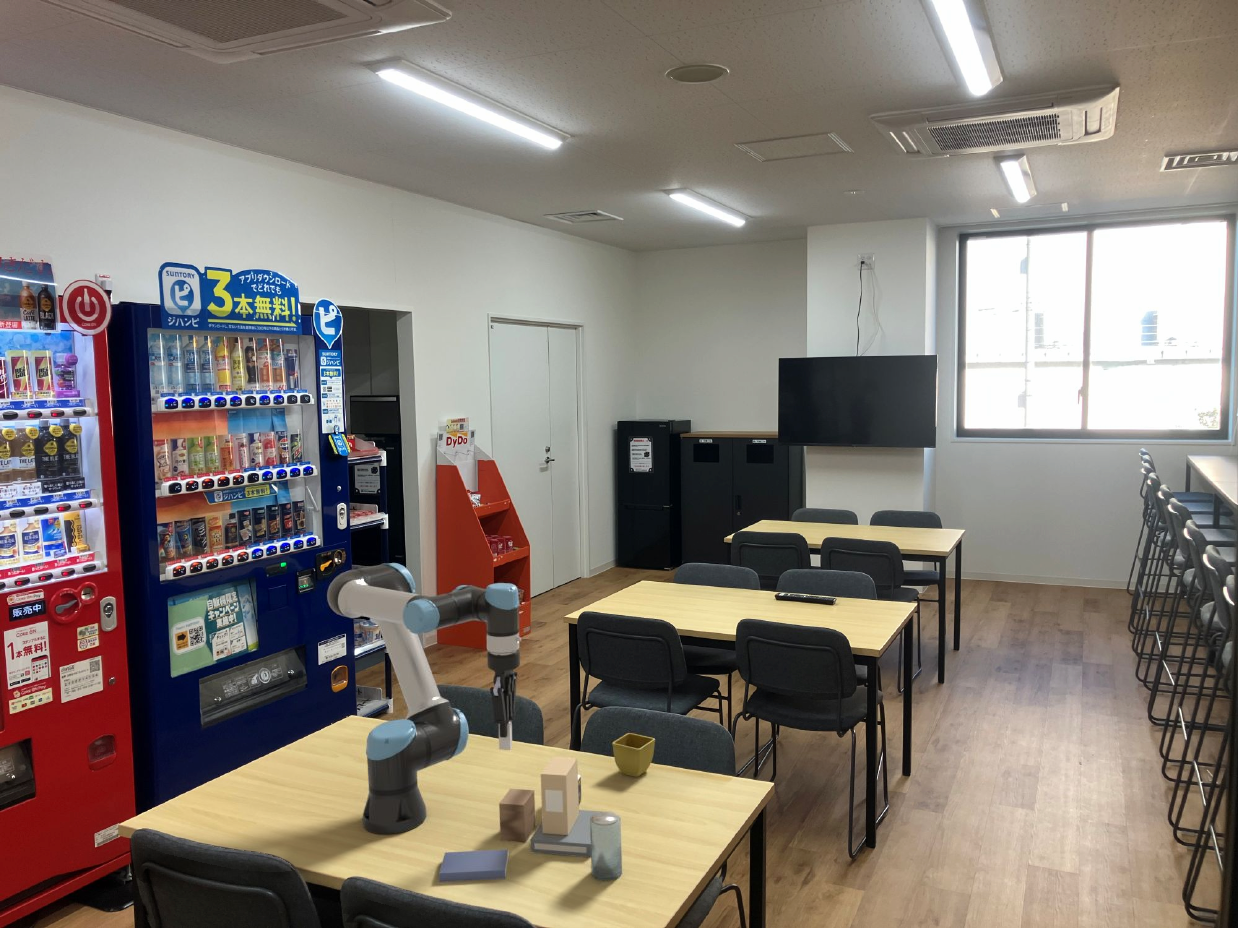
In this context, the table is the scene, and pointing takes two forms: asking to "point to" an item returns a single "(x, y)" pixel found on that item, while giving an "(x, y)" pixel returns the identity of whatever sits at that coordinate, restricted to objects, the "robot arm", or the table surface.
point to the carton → (559, 795)
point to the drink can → (606, 846)
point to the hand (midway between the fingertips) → (505, 748)
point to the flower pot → (633, 753)
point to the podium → (566, 838)
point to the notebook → (474, 865)
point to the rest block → (517, 815)
